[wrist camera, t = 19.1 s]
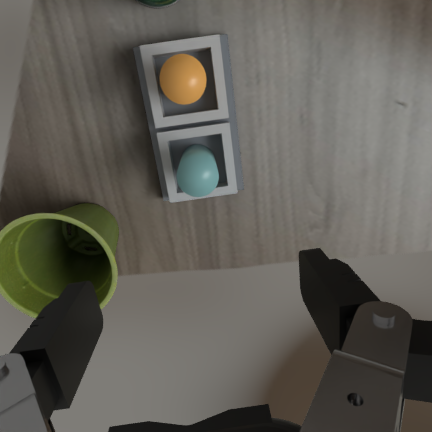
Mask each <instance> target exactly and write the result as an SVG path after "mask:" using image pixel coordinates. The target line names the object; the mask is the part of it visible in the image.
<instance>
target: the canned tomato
mask: <svg viewBox="0 0 432 432" xmlns="http://www.w3.org/2000/svg"><path fill="white" fill-rule="evenodd" d="M136 1H137V2H139V3H141V4H143V5H145V6H147V7H152V8H164V7H169V6H171V5H173V4H175V3H176V2H178V1H179V0H136Z"/></svg>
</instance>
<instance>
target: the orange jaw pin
mask: <svg viewBox="0 0 432 432" xmlns="http://www.w3.org/2000/svg"><path fill="white" fill-rule="evenodd" d="M160 85H161V88H162V90H163V92H164V94H165V95H166V96H167V98H169V99H170V100H171V101H173V102H175V103H177V104H183V105H185V104H191V103H194V102H196V101H197V100H198V99H199V98H200V97H201V96H202V94H203V92H204V90H205V87H206V73H205V70H204V68H203V66H202V64H201V63H200V62H199V61H198V60H197V59H196V58H194V57H193V56H191V55H187V54H177V55H174V56H172V57H170V58H169V59H168V60H167V61H166V62H165V63H164V64H163V66H162V68H161V71H160Z"/></svg>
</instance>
